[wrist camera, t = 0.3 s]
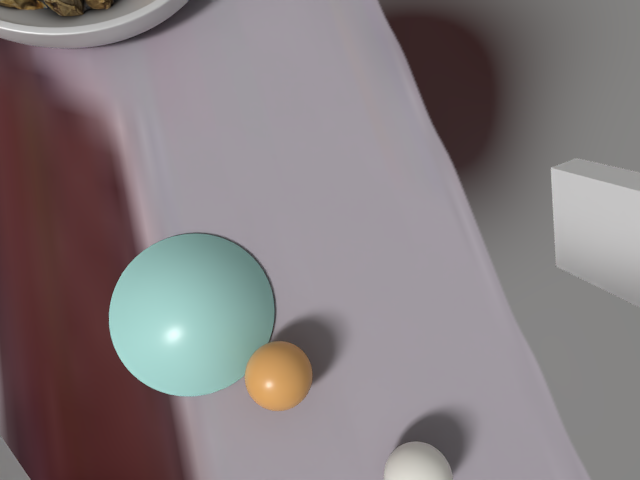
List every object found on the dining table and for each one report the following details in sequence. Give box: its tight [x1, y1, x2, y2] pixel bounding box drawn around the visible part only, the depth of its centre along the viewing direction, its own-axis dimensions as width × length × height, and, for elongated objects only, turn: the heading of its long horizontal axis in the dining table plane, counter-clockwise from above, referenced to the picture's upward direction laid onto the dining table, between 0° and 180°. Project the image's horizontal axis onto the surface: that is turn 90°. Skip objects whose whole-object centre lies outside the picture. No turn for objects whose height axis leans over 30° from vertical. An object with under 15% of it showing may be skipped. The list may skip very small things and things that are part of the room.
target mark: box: [109, 233, 275, 396], centre depth 44 cm, size 14×14×1 cm
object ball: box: [245, 341, 313, 411], centre depth 41 cm, size 6×6×6 cm
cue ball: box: [384, 441, 453, 480], centre depth 41 cm, size 6×6×6 cm
